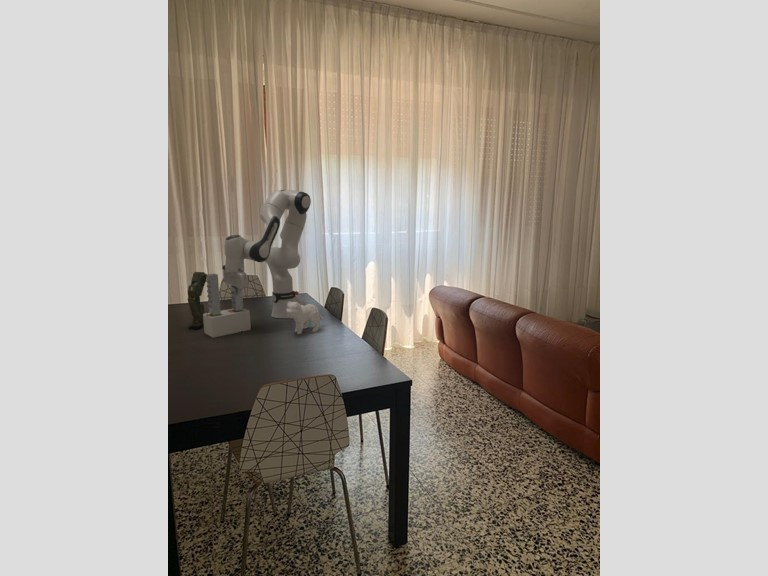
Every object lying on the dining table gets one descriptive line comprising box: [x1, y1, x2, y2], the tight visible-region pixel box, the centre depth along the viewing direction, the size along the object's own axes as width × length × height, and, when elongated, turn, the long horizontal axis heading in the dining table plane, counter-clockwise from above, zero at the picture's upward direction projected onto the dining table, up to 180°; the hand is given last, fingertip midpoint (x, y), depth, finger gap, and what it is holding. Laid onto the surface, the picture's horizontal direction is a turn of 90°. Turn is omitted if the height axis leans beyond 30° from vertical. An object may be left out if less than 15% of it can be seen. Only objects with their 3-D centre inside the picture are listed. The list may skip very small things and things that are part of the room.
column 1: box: [205, 273, 222, 317], centre depth 217 cm, size 4×4×22 cm
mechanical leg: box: [187, 271, 207, 331], centre depth 231 cm, size 14×7×30 cm, turn 169°
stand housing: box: [203, 307, 252, 338], centre depth 225 cm, size 20×10×11 cm, turn 134°
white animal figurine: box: [286, 301, 324, 335], centre depth 226 cm, size 25×10×17 cm, turn 141°
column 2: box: [230, 285, 244, 312], centre depth 227 cm, size 4×4×22 cm
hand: (236, 294), depth 226 cm, fingers closed on column 2, 4 cm apart
